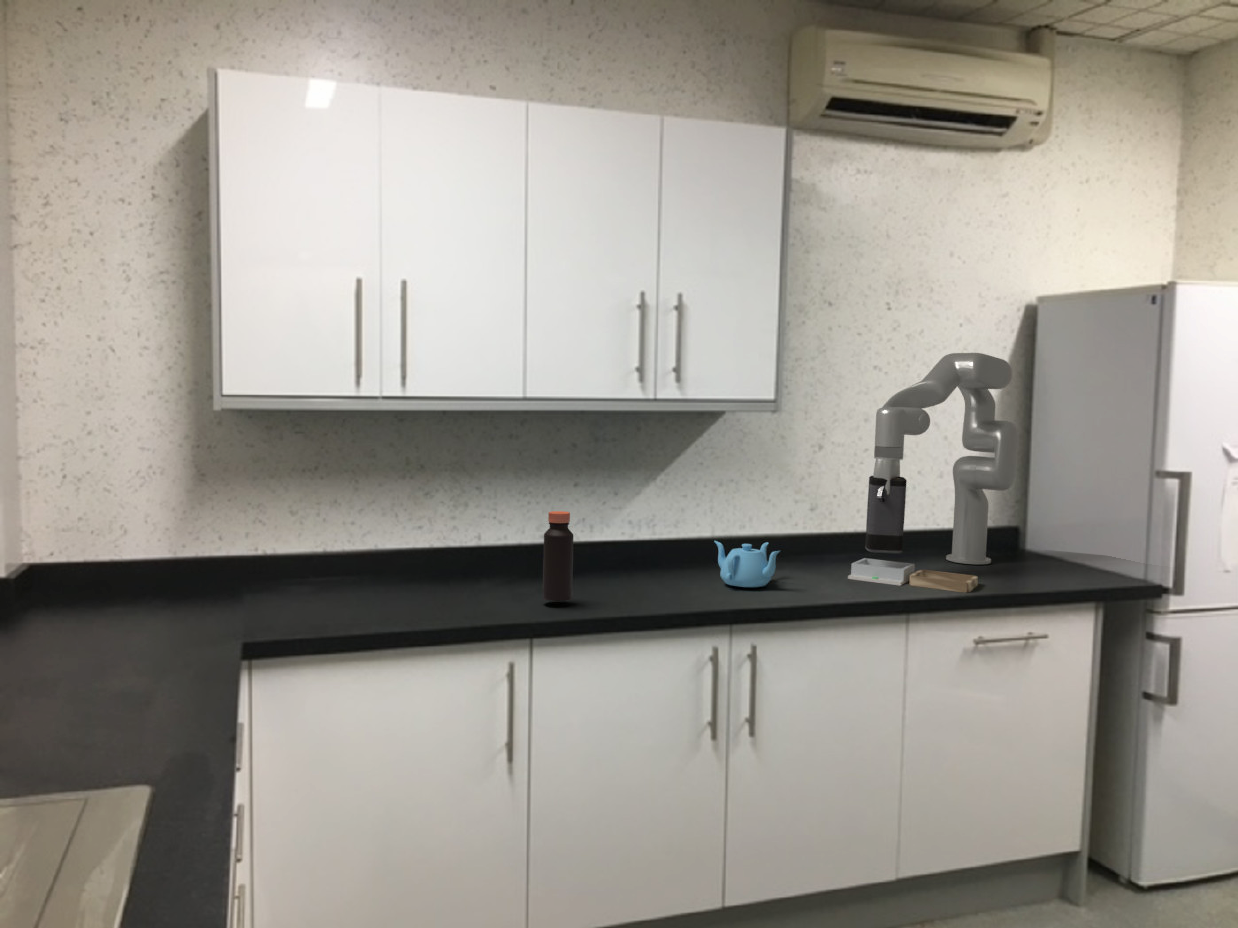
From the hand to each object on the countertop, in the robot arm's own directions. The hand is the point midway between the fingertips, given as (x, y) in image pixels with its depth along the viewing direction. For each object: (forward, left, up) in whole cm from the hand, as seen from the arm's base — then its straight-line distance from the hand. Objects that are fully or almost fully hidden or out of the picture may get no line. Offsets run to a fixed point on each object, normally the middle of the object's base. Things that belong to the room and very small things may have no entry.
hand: (885, 520), depth 250 cm
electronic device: (+1, 0, -8) cm, 8 cm away
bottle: (+77, -53, -16) cm, 95 cm away
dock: (0, 0, -16) cm, 16 cm away
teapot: (+31, -26, -16) cm, 43 cm away
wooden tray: (0, +16, -16) cm, 22 cm away
